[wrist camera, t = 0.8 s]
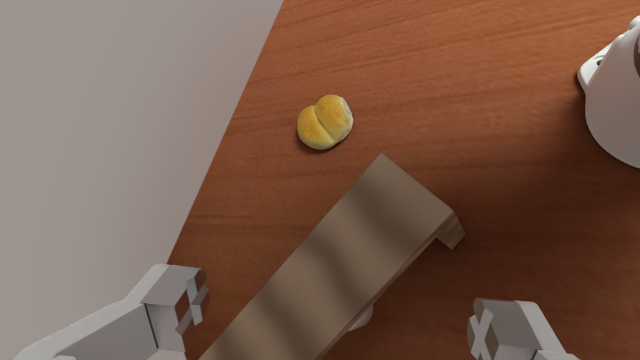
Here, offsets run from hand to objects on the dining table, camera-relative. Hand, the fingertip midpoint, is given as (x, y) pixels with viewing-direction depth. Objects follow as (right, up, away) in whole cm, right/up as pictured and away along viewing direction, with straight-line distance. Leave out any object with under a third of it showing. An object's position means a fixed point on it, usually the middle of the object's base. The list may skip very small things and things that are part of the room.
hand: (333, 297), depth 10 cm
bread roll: (+1, +12, +44) cm, 46 cm away
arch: (+4, -13, +34) cm, 37 cm away
